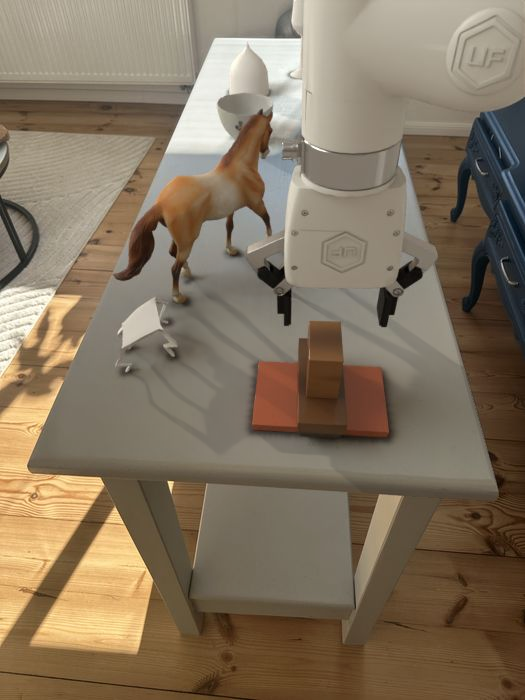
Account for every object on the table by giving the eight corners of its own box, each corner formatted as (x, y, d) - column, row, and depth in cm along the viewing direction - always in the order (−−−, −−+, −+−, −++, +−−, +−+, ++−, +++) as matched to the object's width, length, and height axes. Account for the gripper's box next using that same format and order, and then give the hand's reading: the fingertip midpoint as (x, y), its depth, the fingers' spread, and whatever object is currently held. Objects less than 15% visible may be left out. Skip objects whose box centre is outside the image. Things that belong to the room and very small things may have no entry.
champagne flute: (302, 68, 143) (306, -33, 125) (317, 74, 140) (324, -30, 122) (285, 74, 140) (287, -30, 123) (300, 80, 137) (305, -26, 119)
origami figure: (177, 375, 64) (172, 350, 60) (114, 376, 64) (105, 351, 60) (187, 313, 72) (182, 288, 68) (131, 314, 72) (124, 288, 68)
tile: (380, 372, 63) (381, 366, 63) (387, 437, 57) (389, 432, 56) (259, 366, 65) (259, 360, 64) (252, 430, 58) (252, 424, 57)
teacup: (273, 150, 108) (273, 113, 102) (217, 150, 108) (214, 113, 102) (273, 122, 118) (273, 87, 112) (222, 122, 118) (219, 87, 112)
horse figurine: (265, 222, 88) (264, 104, 73) (296, 240, 84) (302, 119, 69) (120, 304, 73) (81, 177, 58) (150, 329, 70) (116, 200, 55)
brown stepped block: (297, 356, 64) (301, 299, 57) (338, 357, 64) (347, 300, 56) (296, 440, 55) (300, 386, 48) (343, 442, 55) (354, 388, 48)
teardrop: (273, 97, 128) (273, 46, 120) (233, 102, 127) (230, 50, 118) (264, 83, 136) (263, 33, 127) (225, 87, 134) (222, 37, 125)
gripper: (233, 181, 35) (248, 342, 48) (475, 178, 34) (425, 345, 47) (242, 137, 41) (253, 293, 53) (453, 133, 39) (413, 294, 52)
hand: (334, 317), depth 50 cm, fingers open, 9 cm apart
